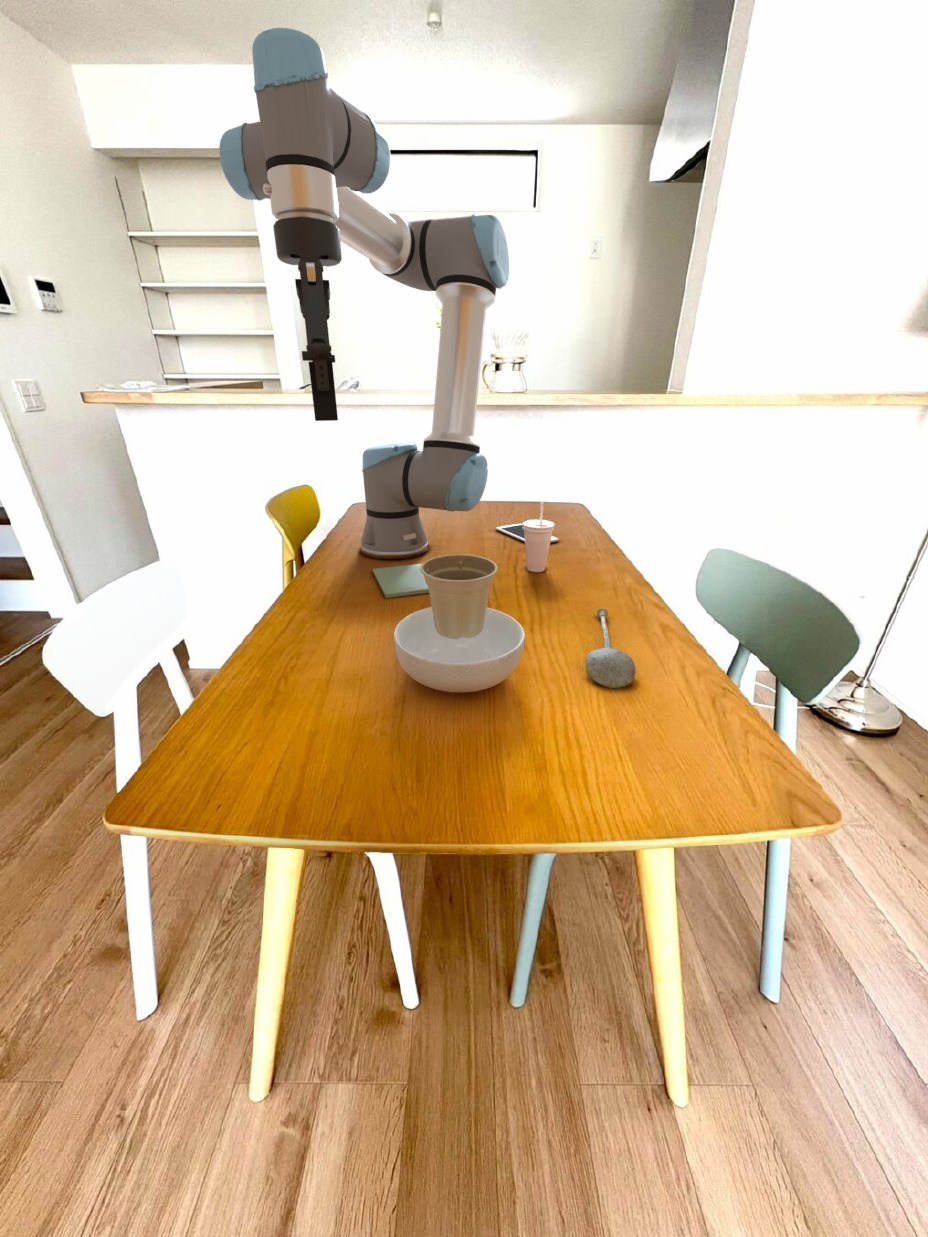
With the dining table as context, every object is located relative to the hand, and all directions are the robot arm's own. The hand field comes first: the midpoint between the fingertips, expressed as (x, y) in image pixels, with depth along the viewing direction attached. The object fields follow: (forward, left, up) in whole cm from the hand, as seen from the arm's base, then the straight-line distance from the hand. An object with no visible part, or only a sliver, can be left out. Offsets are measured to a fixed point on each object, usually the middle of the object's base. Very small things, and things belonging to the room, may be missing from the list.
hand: (326, 416), depth 70 cm
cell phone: (-49, +37, -32) cm, 69 cm away
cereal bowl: (+16, +17, -32) cm, 40 cm away
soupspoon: (+9, +39, -32) cm, 51 cm away
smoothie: (-25, +35, -32) cm, 54 cm away
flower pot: (+16, +17, -25) cm, 34 cm away
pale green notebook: (-20, +10, -32) cm, 39 cm away
